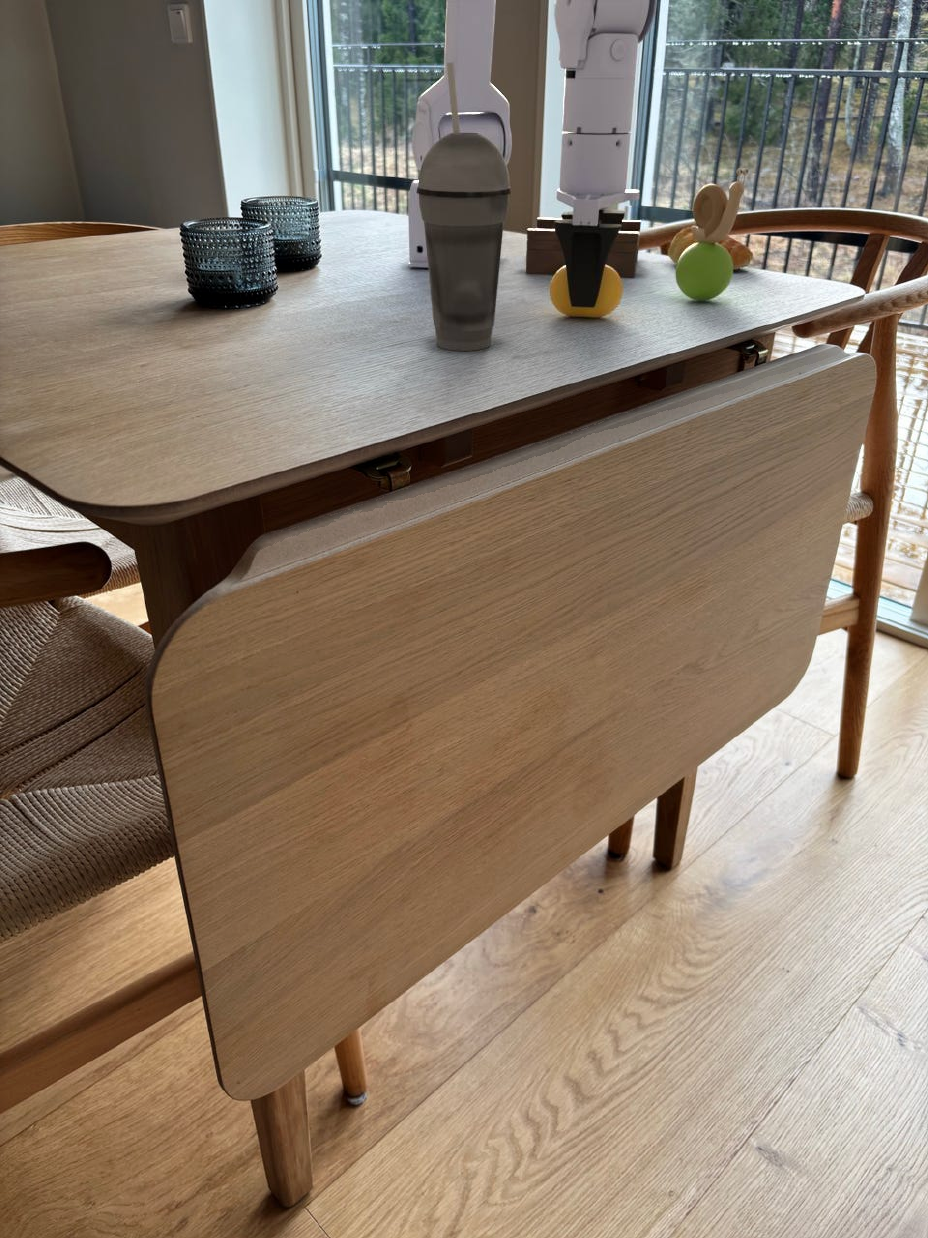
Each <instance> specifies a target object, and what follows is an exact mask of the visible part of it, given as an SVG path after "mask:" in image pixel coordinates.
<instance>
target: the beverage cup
mask: <svg viewBox="0 0 928 1238" xmlns="http://www.w3.org/2000/svg"><path fill="white" fill-rule="evenodd" d="M447 70H448V81H449V92H450V103H451V112H450V113H451V114H452V125H453V133H450V134H448V135H446V136H444V137H442V138H441V139H440V140H438V141H437V142H436V143H435V144H434V145H433V146H432V147H431V149H430V150H429V152H428V153H427V154H426V157H425V159H424V161H423V163H422V166H421V169H420V171H419V175H418V180H419V184H418V187H417V192H416V193H418V194H419V205H420V210H421V216H422V220H423V221H424V227H425V237H426V248H427V258H428V268H427V269H428V278H429V288H430V289H429V290H430V299H431V310H432V321H433V326H434V333H435V336H436V346H437V347H439V348H441V349H444V350H448V351H457V352H458V351H459V352H460V351H461V352H470V351H479V350H480V351H481V350H484V349H487V348H489V347H490V346H492V335H493V328H494V325H495V317H496V308H497V307H496V305H497V296H498V287H499V286H498V285H499V277H500V275H499V274H500V265H501V255H502V245H503V244H502V243H503V236H504V235H503V233H504V226H505V225H504V224H505V222H506V219H507V214H508V209H509V205H510V204H509V203H510V195H511V194H512V188H511V186H510V175H509V169H508V165H507V166H506V163H505V160H504V158H503V156H502V154H501V153H500V151H499V150H498V148H497V147H496V146H495V145H494V144H493V143H492V142H491V141H490V140H489V139H487V138H486V137H484V136H482V135H480V134H478V133H460V127H459V116H458V113H459V112H458V105H457V94H456V83H455V72H454V62H450V63H447Z"/></svg>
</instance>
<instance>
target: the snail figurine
mask: <svg viewBox="0 0 928 1238" xmlns="http://www.w3.org/2000/svg"><path fill="white" fill-rule="evenodd" d="M735 172H736V175H738V179H737V181H734V182H732V183H731V185H730V186H729V189H728V196H727V193H726V192H725V190H724V189H723V188H722V187H721V186H720V185H718V184H715V183H708V184H705V185H704V186H702V187H701V188H700V189H699V190H698V192H697V193H696V194H695V197H694V199H693V204H692V215H693V216H692V217H693V220H694V222H695V224H696V225H692V226H690V227H691V231H692V234H693V236H694V238H695V239H696V240H697V241H699V242H697V243H695V244H693V245H691V246H690V247H688V248H687V249H686V250H685V251H684V252H683V253H682V254H681V256H680V258H679V260H678V262H677V263H676V265H675V271H674V272H675V273H674V275H675V281H676V284H677V287H678V289H679V290H680V291H681V293H683V295H684V296H686V297H688V298H689V299H691V300H695V301H700V302H701V301H703V302H705V301H709V300H712V299H715V298H717V297H719V296H720V295H721V294H722V293H724V291H725V290H726V289H727V288H728V287H729V285H730V283H731V281H732V278H733V274H734V269H733V262H732V259H731V256H730V254H729V253H728V251H727V250H726V249H725V248H724V247H723V246H722V245H720V244H718V243H717V242H719V241H721V240H723V239H724V238H725V237H726V236H729V234H730V232H731V231H732V230H733V229H732V228H733V226H734V224H735V221H736V219H737V216H738V212H739V209H740V204H741V199H742V197H743V195H744V192H745V186H744V185H745V180H746V175H747V174H748V173H749V169H748V168H747V167H744V168H740V167H739V168H737V169H736V171H735ZM742 175H743V176H744V177H743V182H741V181H740V176H742Z"/></svg>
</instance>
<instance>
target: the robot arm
mask: <svg viewBox="0 0 928 1238" xmlns="http://www.w3.org/2000/svg"><path fill="white" fill-rule="evenodd" d="M657 5H658V0H555V1H554V2H553V17H554V25H555V26H554V27H555V30H556V33H557V38H558V44H559V45H558V46H559V47H558V49H559V51H558V61H560V62H559V65H560V68H561V69H564V84H563V85H564V89H563V105H562V106H563V108H562V126H561V131H562V132H561V144H560V145H561V146H560V147H561V149H560V167H559V169H560V170H559V187H558V189H556V200H557V202H560V203H563V204H565V205H567V206H569V207H571V208H572V211H564V212H562V214H561V216H560V217H561V218H562V219H556V220H555V222H554V229H555V232H556V235H557V237H558V240H559V242H560V245H561V248H562V251H563V255H564V259H565V264H566V272H567V280H568V290H569V297H570V302H571V306H572V307H590V308H594V307H595V304H596V302H597V298H598V295H599V291H600V287H601V282H602V277H603V273H604V268H605V265H606V264H607V260H608V255H609V251H610V249H611V247H612V244H613V242H614V240H615V238H616V237H617V235H618V233H619V231H620V229H621V226H622V225H621V222H622V221H623V220H625V215H626V211H625V210H623V209H607V207H611V206H616V205H619V204H622V203H625V202H627V201H629V202H630V201H631V202H636V201H639V200H640V194H641V193H640V190H639V189H627V184H628V183H627V182H628V170H629V158H630V148H631V147H630V146H631V132H632V123H633V110H634V108H633V107H634V99H635V97H634V96H635V88H636V87H635V86H636V74H637V73H636V71H637V63H638V62H637V61H638V50H639V49H638V48H639V44H640V43H641V42H643V40H645V38H647V36H648V34H649V32H650V30H651V28H652V25H653V23H654V19H655V17H656V11H657ZM445 9H446V10H445V33H444V34H445V35H444V36H445V37H444V41H445V42H444V59H443V60H444V63H443V64H444V65H443V76H442V77H440V79H439V80H437V81H436V82H435V83H434V84H433V85H431V86H430V87H429V88H428V89H426V91H424V92H423V93H422V94H421V95H420V96H419V97H418V99H417V104H416V114H415V121H414V125H413V128H412V134H411V147H412V156H413V161H414V164H415V166H416V169H417V170H418V171H419V172H420V169H421V166H422V163H423V161H424V159H425V157H426V154H427V153H428V152H429V150H430V149H431V147H432V146H433V145H434V144H435V143H436V142H437V141H438V140H440V139H441V138H442V137H444V136H446V135H448V134H450V133H453V125H452V114H451V103H450V92H449V81H448V70H447V63H450V62H454V72H455V83H456V94H457V105H458V116H459V127H460V133H478V134H480V135H482V136H484V137H486V138H487V139H489V140H490V141H491V142H492V143H493V144H494V145H495V146H496V147H497V148H498V150H499V151H500V153H501V154H502V156H503V158H504V160H505V163H506V166H507V167H508V164H509V162H510V159H511V155H512V148H513V138H512V130H511V124H510V123H511V122H510V113H511V112H510V111H511V110H510V103H509V101H508V99H507V98H506V97H505V96H504V95H503V94H502V93H501V92H500V91H499V89H497V88H496V87H495V86H494V85H493V84H492V82H491V81H492V80H491V79H492V64H493V49H494V33H495V32H494V31H495V18H496V0H446V7H445ZM418 184H419V179H417V180H413V181H412V182H411V185H410V187H409V192H408V203H407V208H408V209H407V211H408V212H407V213H408V214H407V215H408V217H407V218H408V253H409V254H408V255H409V258H408V260H409V262H408V263H407V267H408V268H421V269H422V268H423V269H424V268H425V269H428V258H427V248H426V237H425V227H424V221H423V220H422V216H421V210H420V205H419V194H418V193H416V192H417V187H418Z"/></svg>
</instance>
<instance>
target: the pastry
mask: <svg viewBox="0 0 928 1238" xmlns="http://www.w3.org/2000/svg"><path fill="white" fill-rule="evenodd" d="M691 227H692V226H689V227H683V228H682V229H681V230H680V231H679V232H677V233H676V234H675V235H674V237H673V239H672V241H671V243H670V245H669V246H668V247H669V248H668V251H667V256H668V258H669V259H670V260H671V261H672V262H673V263H674V265H675V264H676V265H677V262H678V260H679V258H680V256H681V254H682V253H683V252H684V251H685V250H686V249H687V248H688V247H690V246H691V245H693V244H695V243H697V242H699V241H697V240H696V239H695V238H694V236H693V234H692V231H691ZM717 243H718V244H720V245H722V246H723V247H724V248H725V249H726V250H727V251H728V253H729V254H730V256H731V259H732V262H733V270H738V269H741V268H742V269H743V268H744V267H749V265H751V262H752V260H753V258H754V253H753V252H752V250H751V249H750V248H749V247H748V246H747V245H745V244H744V243H742V242H740V241H738V240H736V239H735V238H732V236H731V237H730V236H729V235H727V236H726V237H725V238H724V239H723V240H721V241H719V242H717Z"/></svg>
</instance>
